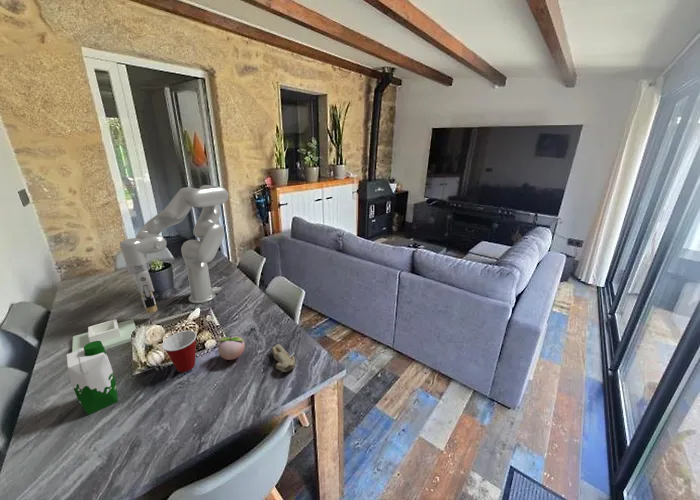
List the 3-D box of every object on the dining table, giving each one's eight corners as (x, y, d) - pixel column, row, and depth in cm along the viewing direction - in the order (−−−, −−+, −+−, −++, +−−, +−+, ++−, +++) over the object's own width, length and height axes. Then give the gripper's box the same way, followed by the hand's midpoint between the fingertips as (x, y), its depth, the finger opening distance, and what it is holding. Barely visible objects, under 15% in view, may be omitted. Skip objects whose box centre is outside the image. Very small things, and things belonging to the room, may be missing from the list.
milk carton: (122, 401, 89) (105, 348, 82) (83, 419, 83) (61, 363, 76) (117, 385, 95) (101, 334, 88) (81, 401, 89) (60, 348, 82)
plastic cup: (171, 360, 107) (164, 333, 103) (203, 353, 110) (198, 327, 106) (164, 381, 97) (157, 352, 93) (200, 373, 101) (194, 345, 97)
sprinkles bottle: (157, 311, 129) (150, 285, 125) (145, 315, 127) (137, 288, 122) (157, 307, 133) (150, 281, 128) (145, 310, 131) (137, 284, 126)
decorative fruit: (218, 368, 103) (214, 345, 100) (221, 354, 110) (217, 332, 107) (245, 364, 105) (242, 341, 102) (246, 350, 113) (244, 328, 110)
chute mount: (133, 321, 130) (131, 311, 128) (138, 338, 118) (135, 327, 117) (74, 339, 117) (69, 328, 115) (73, 360, 106) (68, 348, 104)
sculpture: (266, 357, 110) (280, 379, 99) (265, 346, 109) (280, 367, 97) (283, 351, 114) (300, 371, 103) (283, 340, 113) (299, 360, 101)
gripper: (152, 271, 118) (163, 308, 125) (146, 259, 130) (156, 294, 137) (130, 276, 114) (142, 315, 121) (125, 263, 126) (137, 299, 132)
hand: (149, 303), depth 129 cm, fingers closed on sprinkles bottle, 4 cm apart
